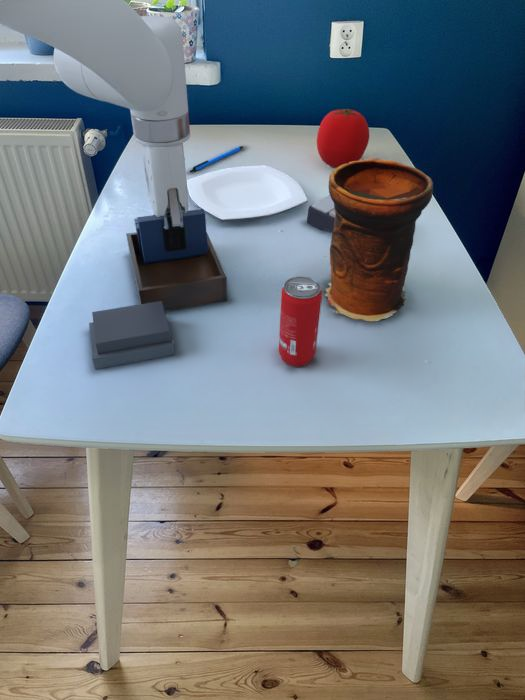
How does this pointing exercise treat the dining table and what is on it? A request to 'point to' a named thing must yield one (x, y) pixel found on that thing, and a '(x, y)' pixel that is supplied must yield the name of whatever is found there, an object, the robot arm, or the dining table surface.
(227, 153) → the pen
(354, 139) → the tomato
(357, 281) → the vessel
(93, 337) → the grey books
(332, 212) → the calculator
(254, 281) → the dining table surface
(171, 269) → the book box
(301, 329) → the beverage can
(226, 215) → the plate
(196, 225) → the blue book
